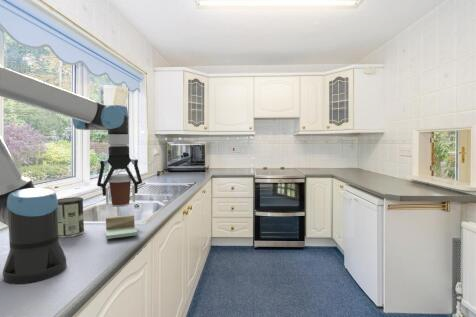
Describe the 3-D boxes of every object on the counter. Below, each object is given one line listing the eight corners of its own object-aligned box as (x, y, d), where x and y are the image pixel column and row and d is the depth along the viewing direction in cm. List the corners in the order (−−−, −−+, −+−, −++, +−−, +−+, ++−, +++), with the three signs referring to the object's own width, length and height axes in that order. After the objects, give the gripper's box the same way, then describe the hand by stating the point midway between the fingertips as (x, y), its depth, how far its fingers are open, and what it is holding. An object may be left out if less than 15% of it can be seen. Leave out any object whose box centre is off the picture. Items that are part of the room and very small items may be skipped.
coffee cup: (119, 208, 113) (118, 176, 112) (103, 206, 117) (101, 175, 116) (138, 203, 121) (137, 174, 120) (121, 201, 125) (120, 173, 124)
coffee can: (73, 228, 129) (71, 196, 128) (89, 231, 125) (88, 198, 124) (49, 235, 120) (47, 200, 119) (66, 239, 116) (65, 202, 115)
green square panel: (134, 229, 127) (137, 235, 116) (106, 232, 123) (106, 239, 112) (134, 226, 127) (137, 232, 116) (106, 229, 123) (106, 235, 112)
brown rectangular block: (134, 229, 128) (134, 215, 127) (106, 232, 123) (105, 218, 123) (134, 228, 129) (133, 214, 129) (106, 231, 125) (105, 217, 125)
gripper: (146, 145, 125) (148, 198, 127) (88, 146, 117) (90, 203, 118) (148, 145, 118) (150, 201, 120) (87, 146, 110) (89, 207, 111)
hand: (120, 202), depth 119 cm, fingers closed on coffee cup, 9 cm apart
